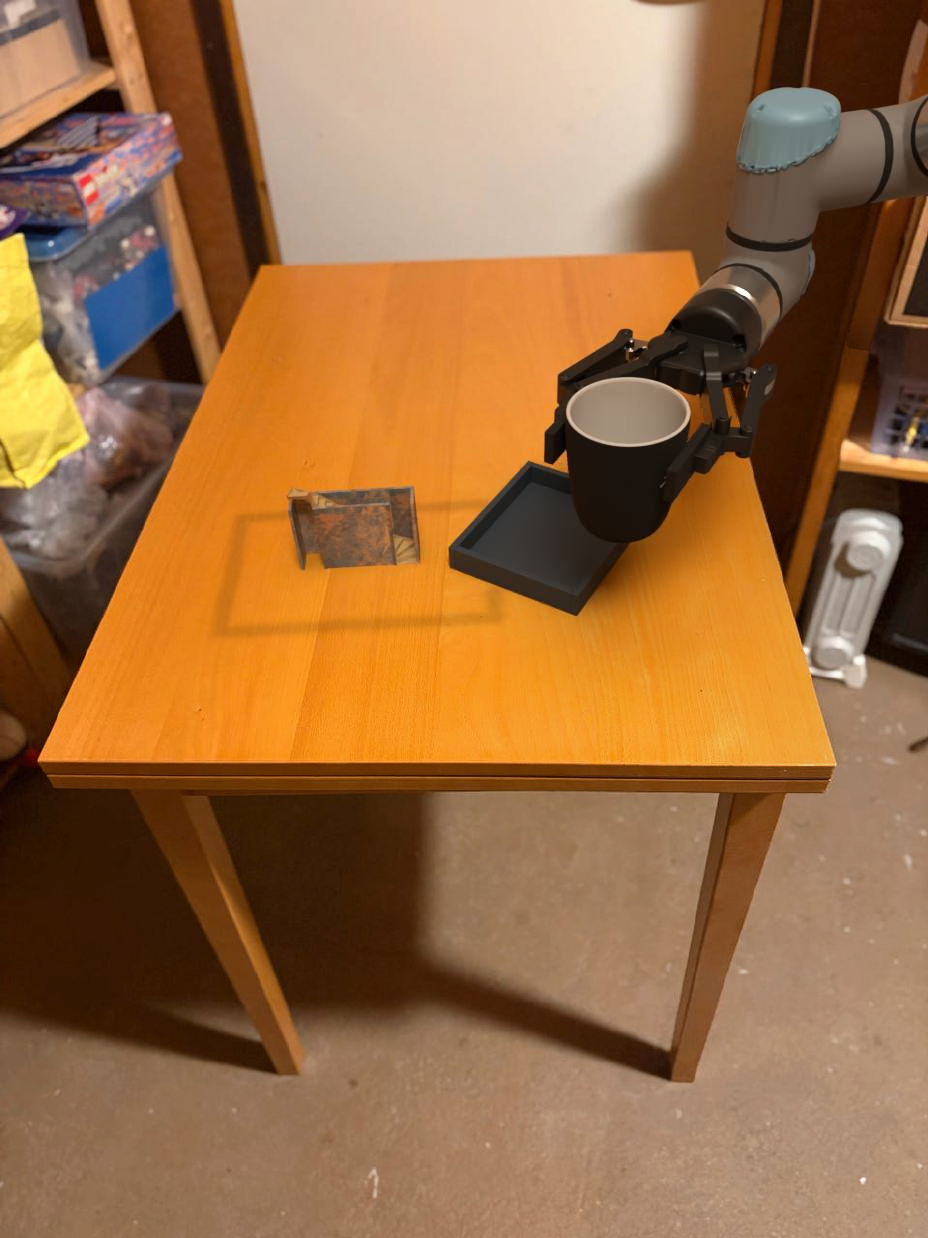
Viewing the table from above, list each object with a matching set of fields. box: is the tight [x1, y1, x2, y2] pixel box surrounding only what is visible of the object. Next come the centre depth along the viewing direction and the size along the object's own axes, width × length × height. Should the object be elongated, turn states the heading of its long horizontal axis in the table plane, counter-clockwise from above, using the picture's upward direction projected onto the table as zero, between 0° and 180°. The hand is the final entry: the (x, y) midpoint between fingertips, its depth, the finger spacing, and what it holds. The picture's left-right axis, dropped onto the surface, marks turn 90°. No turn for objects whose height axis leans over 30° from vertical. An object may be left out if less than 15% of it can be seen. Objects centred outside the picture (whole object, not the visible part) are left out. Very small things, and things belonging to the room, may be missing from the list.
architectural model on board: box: [285, 485, 421, 571], centre depth 86 cm, size 11×3×10 cm, turn 92°
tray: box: [447, 460, 631, 617], centre depth 89 cm, size 13×15×2 cm
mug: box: [565, 377, 692, 544], centre depth 71 cm, size 12×9×10 cm
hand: (607, 467), depth 67 cm, fingers closed on mug, 9 cm apart
